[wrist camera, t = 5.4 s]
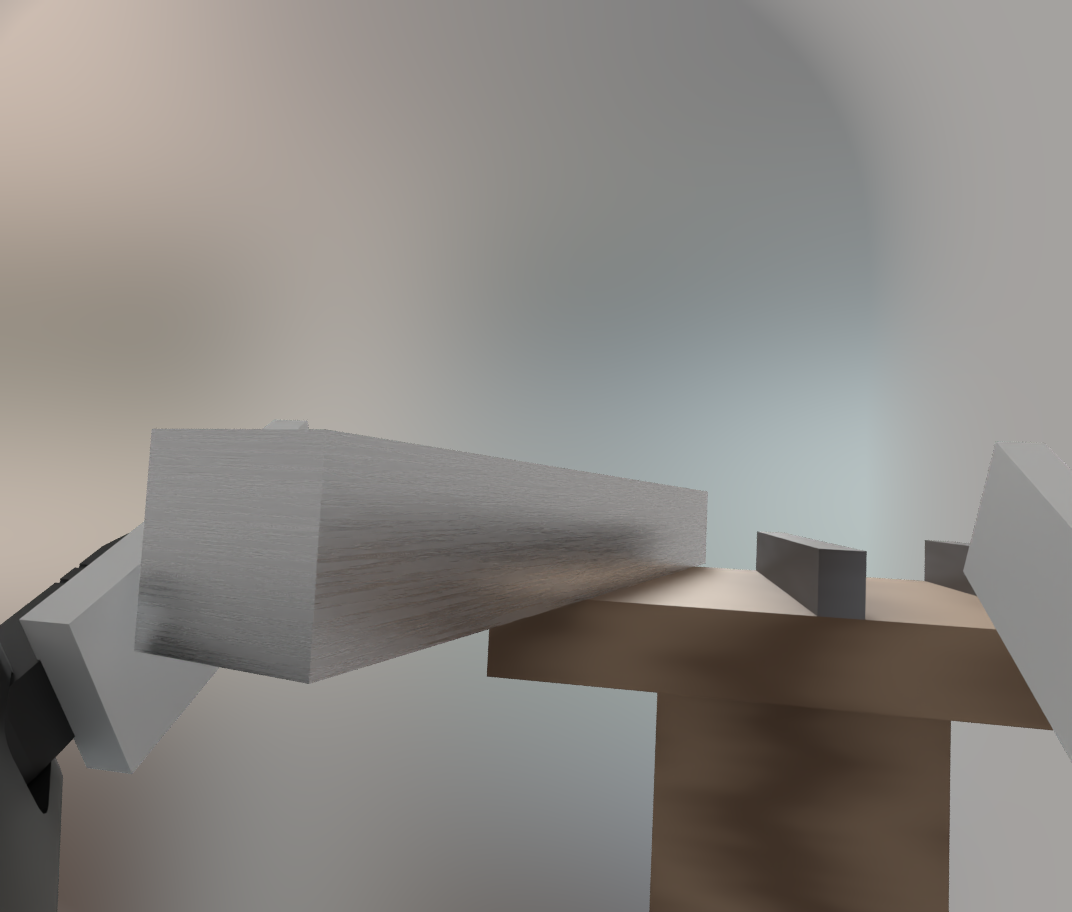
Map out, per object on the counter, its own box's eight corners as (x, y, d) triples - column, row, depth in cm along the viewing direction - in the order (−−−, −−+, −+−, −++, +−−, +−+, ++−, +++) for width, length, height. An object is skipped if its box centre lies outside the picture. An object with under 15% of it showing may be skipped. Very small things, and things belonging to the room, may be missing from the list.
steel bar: (134, 650, 10) (152, 428, 10) (635, 557, 32) (638, 489, 32) (309, 684, 8) (326, 429, 9) (705, 563, 30) (707, 491, 31)
